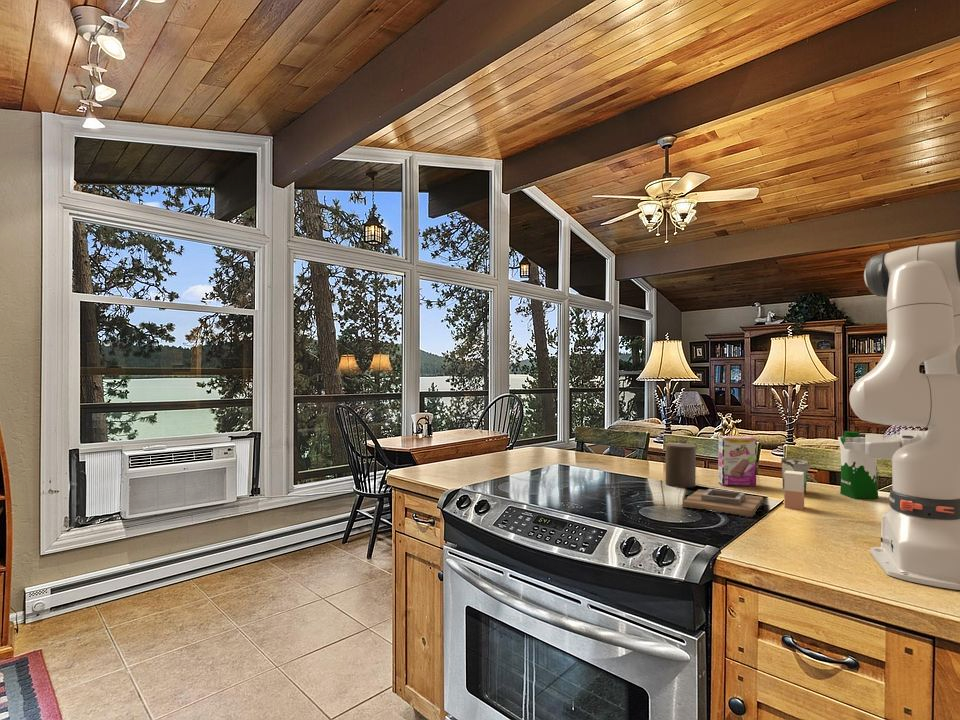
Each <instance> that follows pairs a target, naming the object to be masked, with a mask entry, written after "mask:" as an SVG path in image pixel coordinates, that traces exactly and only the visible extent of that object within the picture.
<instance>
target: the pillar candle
mask: <svg viewBox="0 0 960 720" xmlns="http://www.w3.org/2000/svg"><path fill="white" fill-rule="evenodd" d="M696 448H697V447H696V445H695V444H692V443H684V442H683V443H682V442H681V441H679V442H668V443H665V484H666V485H667V484H668V485H667V486H670V485H671V487H674V486H678V487H677V488H695V487H696V483H697V482H696V477H697V476H696V472H697V471H696V468H697V467H696V465H697V464H696V463H697V462H696V458H697V455H696V451H697V449H696Z"/></svg>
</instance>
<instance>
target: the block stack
mask: <svg viewBox="0 0 960 720" xmlns="http://www.w3.org/2000/svg"><path fill="white" fill-rule="evenodd" d="M783 490H784V494H783V495H784V499H783V500H784V509H789V510H797V511H798V510H799V511H804V509H805V494H804V472H798V471H787V470H786V471H785V472H784V489H783ZM803 508H804V509H803Z"/></svg>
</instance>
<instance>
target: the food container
mask: <svg viewBox="0 0 960 720" xmlns="http://www.w3.org/2000/svg"><path fill="white" fill-rule="evenodd" d="M780 461H781V462H780V464H781V475H782V476H781V477H782V478H781V479H782V480H781V481H782V489H783V490H784V472H785V471H786V470H787V471H798V472H804V495H806V494H807V481H808V471H809V470H810V469H811V468H810V464H809V462H808V461H807V460H804V459H798V458H791V457H781V460H780Z"/></svg>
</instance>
